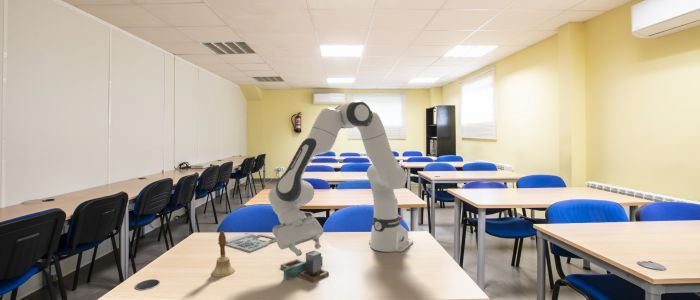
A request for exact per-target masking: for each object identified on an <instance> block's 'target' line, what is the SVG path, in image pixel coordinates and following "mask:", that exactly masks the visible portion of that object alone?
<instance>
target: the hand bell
mask: <svg viewBox="0 0 700 300" xmlns="http://www.w3.org/2000/svg"><path fill="white" fill-rule="evenodd" d="M226 239H227V237H226V235H225V232H224V230H220V231H219V235H218V245H219V250H220V251H219V253H220V256H219V257H218V258H216V265H215V267H214V269H213V270H212V271H211V276H213V277H214V278H223V277H228V276H231V275H233V274H234V273H235V271H236V270H235V268H234V267H233V266H232V265H231V262H230V257H229V256H226V249H225V248H226V247H225V246H226V245H225V243H226Z"/></svg>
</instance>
